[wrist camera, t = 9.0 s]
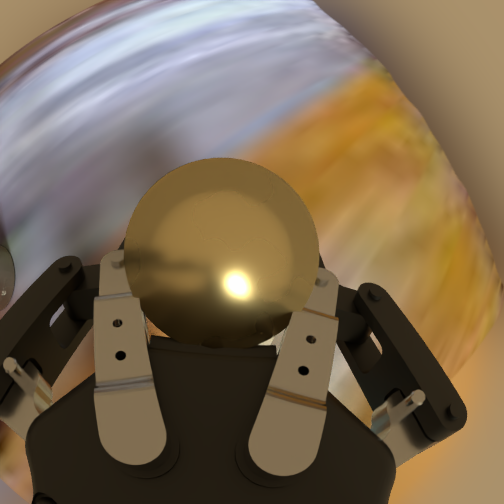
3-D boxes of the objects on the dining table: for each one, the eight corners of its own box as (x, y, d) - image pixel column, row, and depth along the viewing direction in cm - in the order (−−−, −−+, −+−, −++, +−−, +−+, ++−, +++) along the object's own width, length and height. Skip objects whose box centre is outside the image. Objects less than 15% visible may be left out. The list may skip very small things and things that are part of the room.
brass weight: (165, 296, 16) (94, 295, 6) (200, 223, 17) (181, 133, 7) (240, 332, 16) (272, 381, 6) (273, 257, 17) (343, 206, 7)
